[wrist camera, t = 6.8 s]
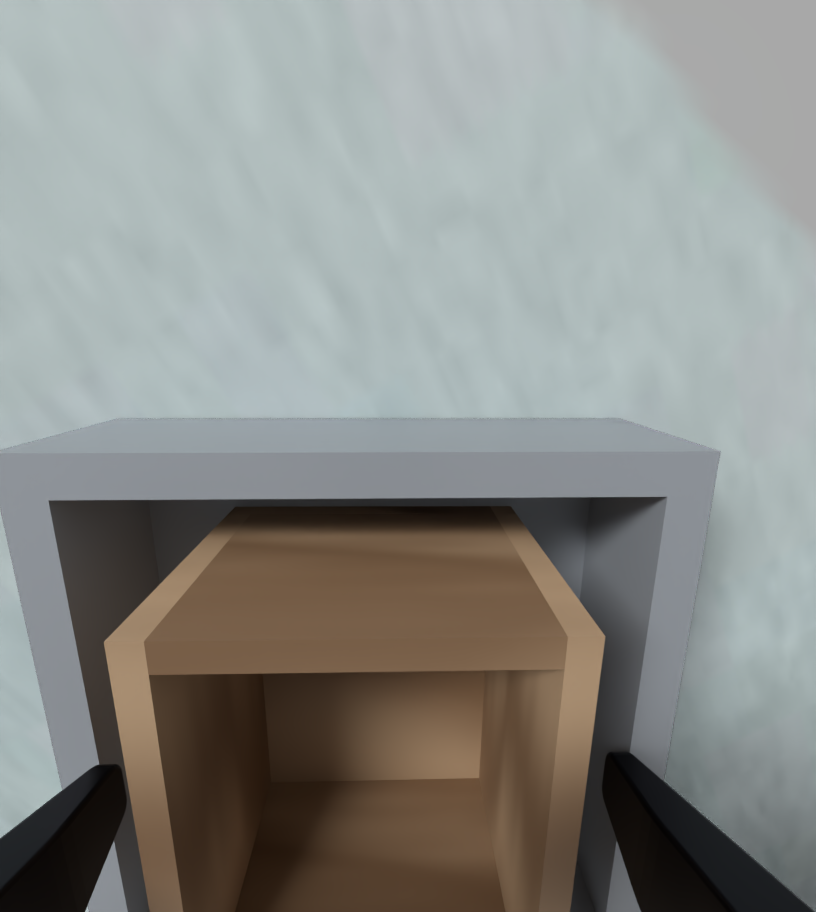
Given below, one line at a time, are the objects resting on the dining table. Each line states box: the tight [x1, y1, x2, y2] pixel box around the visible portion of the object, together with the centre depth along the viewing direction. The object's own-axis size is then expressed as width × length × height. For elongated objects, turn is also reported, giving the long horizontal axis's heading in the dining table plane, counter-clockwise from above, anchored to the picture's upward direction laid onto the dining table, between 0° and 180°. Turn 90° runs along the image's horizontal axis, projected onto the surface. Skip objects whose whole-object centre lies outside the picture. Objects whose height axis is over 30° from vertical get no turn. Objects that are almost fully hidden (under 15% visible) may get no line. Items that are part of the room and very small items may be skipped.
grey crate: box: [0, 419, 721, 912], centre depth 11 cm, size 12×12×4 cm
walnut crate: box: [104, 506, 605, 912], centre depth 9 cm, size 8×6×5 cm
